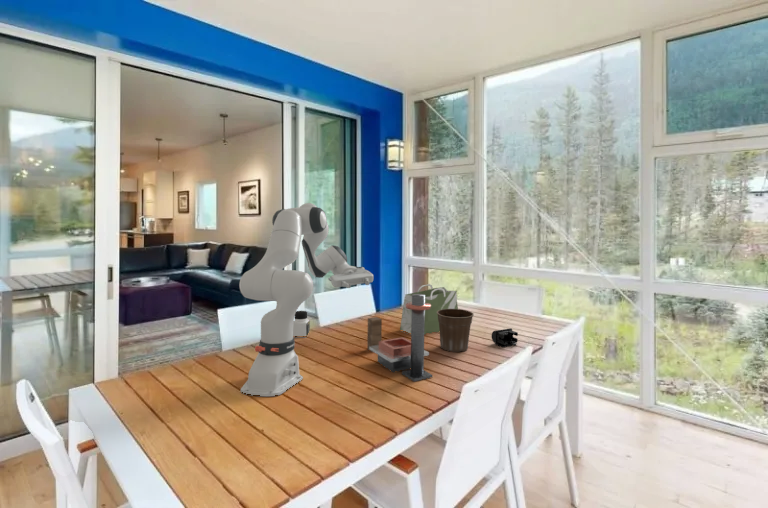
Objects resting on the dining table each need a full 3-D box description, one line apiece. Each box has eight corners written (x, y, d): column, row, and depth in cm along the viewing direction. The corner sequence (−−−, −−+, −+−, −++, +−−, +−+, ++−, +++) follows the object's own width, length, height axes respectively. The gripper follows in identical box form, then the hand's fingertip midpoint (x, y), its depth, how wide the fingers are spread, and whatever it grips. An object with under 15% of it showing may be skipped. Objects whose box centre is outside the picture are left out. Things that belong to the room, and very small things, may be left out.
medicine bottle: (306, 337, 193) (306, 313, 192) (291, 337, 193) (291, 312, 192) (309, 333, 200) (309, 309, 199) (295, 333, 201) (295, 309, 200)
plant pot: (472, 355, 170) (474, 318, 169) (434, 352, 174) (435, 315, 172) (472, 343, 186) (473, 309, 185) (437, 341, 190) (438, 307, 188)
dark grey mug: (506, 340, 192) (507, 326, 192) (518, 344, 186) (518, 330, 185) (490, 343, 188) (491, 329, 187) (501, 347, 181) (502, 333, 181)
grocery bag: (416, 336, 197) (417, 290, 195) (399, 330, 208) (399, 286, 206) (462, 327, 215) (463, 284, 213) (444, 321, 227) (445, 281, 225)
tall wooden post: (367, 349, 177) (367, 318, 176) (376, 347, 179) (376, 317, 178) (372, 352, 173) (372, 320, 172) (381, 350, 175) (381, 319, 174)
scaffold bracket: (369, 361, 162) (369, 287, 159) (404, 354, 170) (405, 284, 168) (404, 384, 139) (405, 299, 137) (443, 375, 148) (444, 295, 145)
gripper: (327, 271, 190) (337, 281, 178) (366, 266, 199) (378, 275, 187) (326, 283, 192) (337, 294, 180) (365, 278, 201) (378, 288, 189)
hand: (358, 284), depth 184 cm, fingers open, 8 cm apart
